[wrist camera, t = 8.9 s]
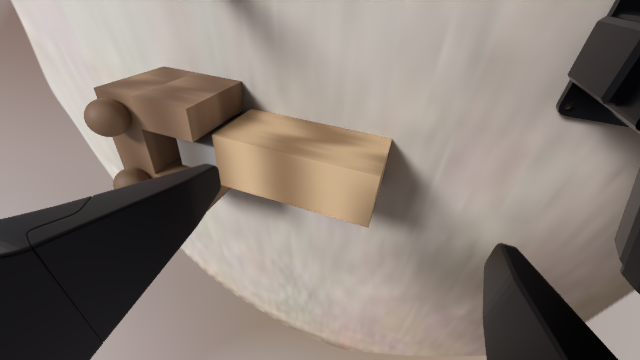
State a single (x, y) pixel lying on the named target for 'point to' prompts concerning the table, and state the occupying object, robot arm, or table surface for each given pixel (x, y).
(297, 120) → the bed rail
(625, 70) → the robot arm
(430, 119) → the table surface
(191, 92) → the arched block with knobs
